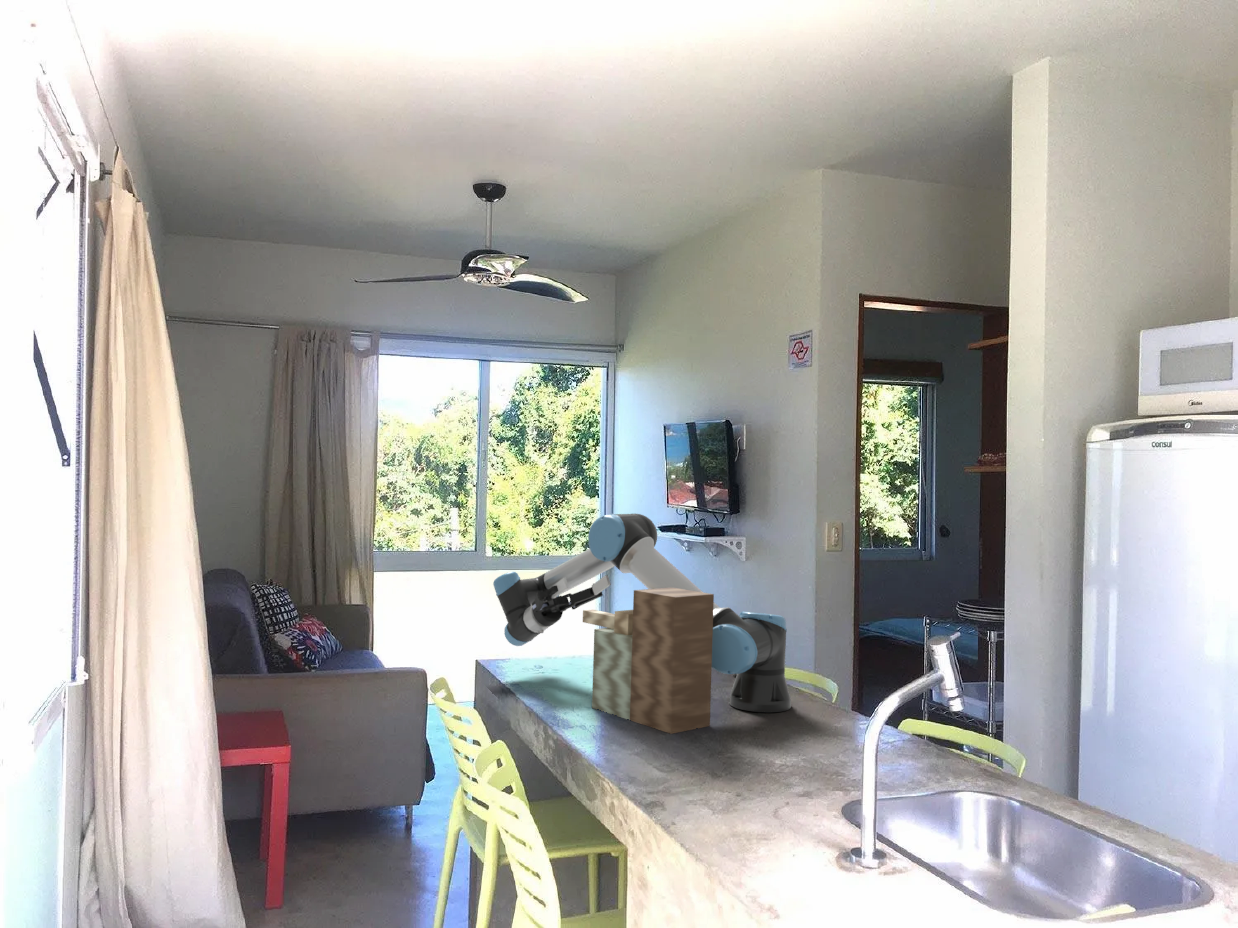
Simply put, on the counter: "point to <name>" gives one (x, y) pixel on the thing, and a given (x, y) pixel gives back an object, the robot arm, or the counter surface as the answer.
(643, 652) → the step stand
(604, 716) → the counter surface
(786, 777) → the counter surface
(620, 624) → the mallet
